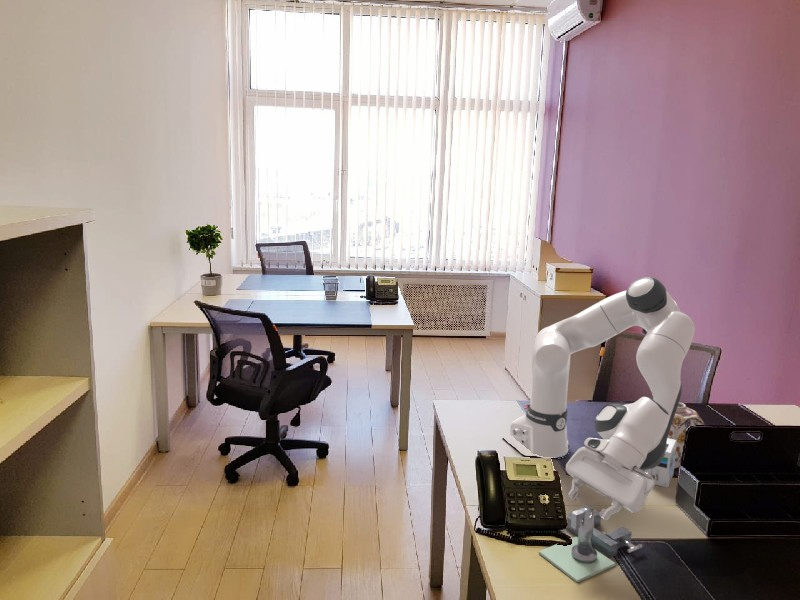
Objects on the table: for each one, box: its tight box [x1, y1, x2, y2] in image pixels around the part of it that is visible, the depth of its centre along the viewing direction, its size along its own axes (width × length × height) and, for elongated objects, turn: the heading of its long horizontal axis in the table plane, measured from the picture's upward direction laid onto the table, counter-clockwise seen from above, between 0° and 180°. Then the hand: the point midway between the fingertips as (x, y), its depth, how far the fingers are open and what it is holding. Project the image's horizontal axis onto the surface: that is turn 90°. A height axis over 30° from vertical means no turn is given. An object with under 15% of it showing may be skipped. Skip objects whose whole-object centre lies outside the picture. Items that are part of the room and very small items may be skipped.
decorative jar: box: [667, 401, 705, 470], centre depth 190 cm, size 12×12×18 cm
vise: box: [566, 509, 644, 558], centre depth 150 cm, size 17×9×3 cm, turn 30°
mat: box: [538, 536, 616, 583], centre depth 142 cm, size 12×12×1 cm
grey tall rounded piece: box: [571, 504, 597, 564], centre depth 141 cm, size 6×7×12 cm
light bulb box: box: [644, 438, 677, 488], centre depth 179 cm, size 11×7×11 cm, turn 148°
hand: (586, 507), depth 140 cm, fingers open, 8 cm apart
